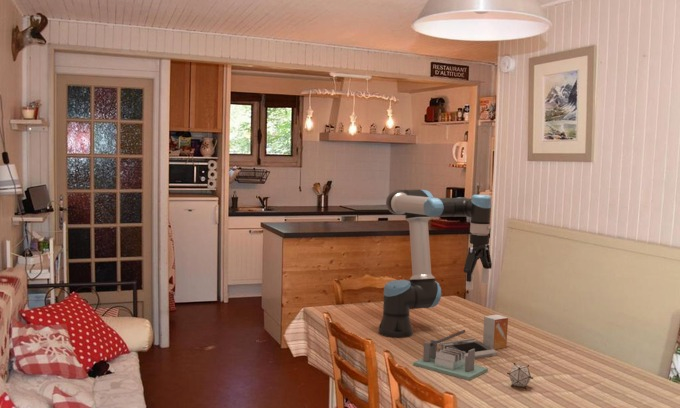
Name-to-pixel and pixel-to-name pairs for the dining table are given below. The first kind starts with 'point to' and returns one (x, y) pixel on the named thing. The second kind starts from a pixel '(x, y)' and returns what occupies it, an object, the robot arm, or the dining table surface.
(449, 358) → the heatsink
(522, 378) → the game die
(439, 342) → the dark grey bar
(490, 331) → the small box
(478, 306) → the dining table surface
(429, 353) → the base board
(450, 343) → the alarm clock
